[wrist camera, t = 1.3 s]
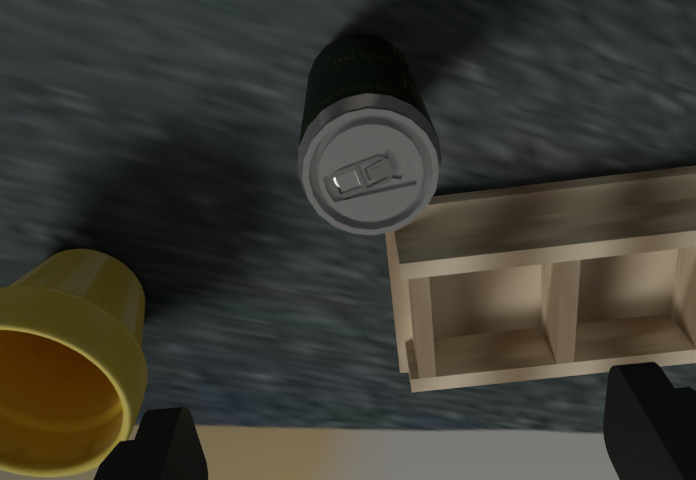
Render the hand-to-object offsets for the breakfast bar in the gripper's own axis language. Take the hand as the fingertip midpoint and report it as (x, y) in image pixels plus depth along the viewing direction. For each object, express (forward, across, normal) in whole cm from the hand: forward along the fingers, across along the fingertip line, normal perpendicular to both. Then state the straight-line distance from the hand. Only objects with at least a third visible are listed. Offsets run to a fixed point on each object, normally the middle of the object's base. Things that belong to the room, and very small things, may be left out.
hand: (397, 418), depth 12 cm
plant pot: (+24, +18, +11) cm, 32 cm away
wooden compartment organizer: (+24, -14, +13) cm, 31 cm away
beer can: (+24, 0, 0) cm, 24 cm away
